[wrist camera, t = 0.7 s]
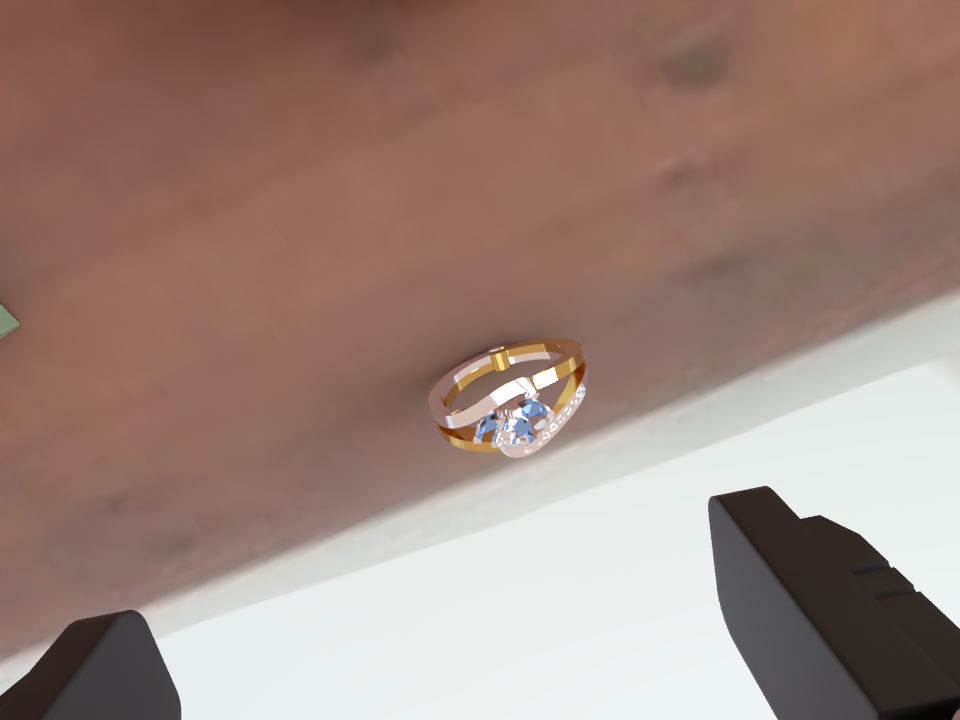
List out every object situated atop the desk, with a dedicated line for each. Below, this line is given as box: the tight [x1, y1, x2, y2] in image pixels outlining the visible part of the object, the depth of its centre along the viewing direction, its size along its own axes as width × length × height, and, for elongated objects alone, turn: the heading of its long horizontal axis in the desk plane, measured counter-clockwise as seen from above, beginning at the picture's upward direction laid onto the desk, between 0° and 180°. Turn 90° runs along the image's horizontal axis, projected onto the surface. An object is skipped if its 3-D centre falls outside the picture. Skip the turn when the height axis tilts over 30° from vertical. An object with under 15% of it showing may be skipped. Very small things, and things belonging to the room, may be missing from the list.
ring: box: [428, 338, 589, 457], centre depth 28 cm, size 7×3×8 cm, turn 106°
